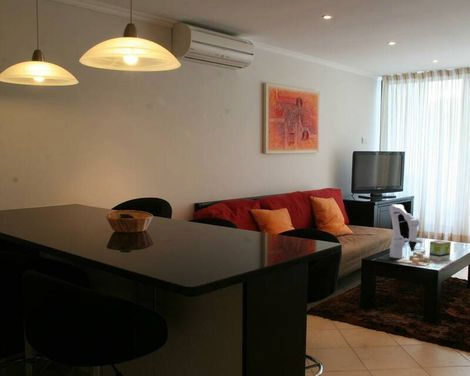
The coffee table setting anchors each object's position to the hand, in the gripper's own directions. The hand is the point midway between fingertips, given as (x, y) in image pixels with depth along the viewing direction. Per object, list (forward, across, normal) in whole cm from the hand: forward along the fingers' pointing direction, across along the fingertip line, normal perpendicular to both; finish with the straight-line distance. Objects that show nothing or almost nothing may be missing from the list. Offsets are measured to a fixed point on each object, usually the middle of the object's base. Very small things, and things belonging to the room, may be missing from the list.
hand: (412, 251), depth 373 cm
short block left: (+10, -3, +8) cm, 13 cm away
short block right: (+9, +8, +8) cm, 15 cm away
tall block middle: (+9, +3, +8) cm, 13 cm away
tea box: (+10, +11, +29) cm, 33 cm away
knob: (+8, +4, -3) cm, 9 cm away
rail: (+9, +2, -2) cm, 10 cm away
